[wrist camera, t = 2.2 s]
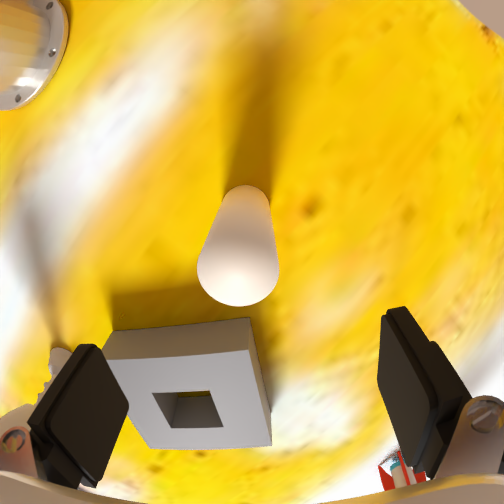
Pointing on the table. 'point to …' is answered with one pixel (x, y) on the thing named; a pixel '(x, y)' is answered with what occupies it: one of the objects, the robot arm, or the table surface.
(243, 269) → the peg
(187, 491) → the table surface
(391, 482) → the toy rocket
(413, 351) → the robot arm
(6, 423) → the chalice
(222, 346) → the socket block
